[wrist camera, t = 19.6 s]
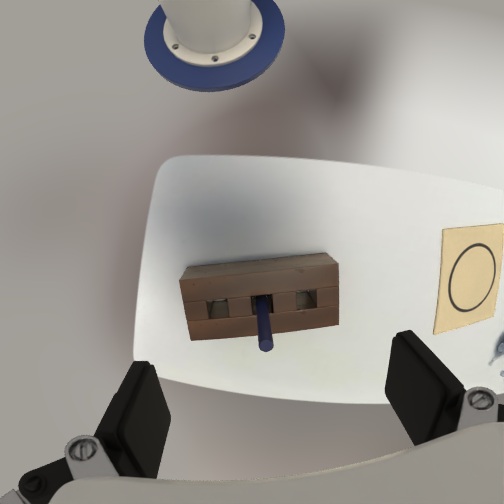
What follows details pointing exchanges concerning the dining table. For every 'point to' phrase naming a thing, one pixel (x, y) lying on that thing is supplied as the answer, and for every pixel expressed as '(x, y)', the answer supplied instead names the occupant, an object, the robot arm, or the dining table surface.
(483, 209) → the dining table surface
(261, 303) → the pen
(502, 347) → the toy figure
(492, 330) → the dining table surface
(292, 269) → the pen stand
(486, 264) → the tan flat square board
